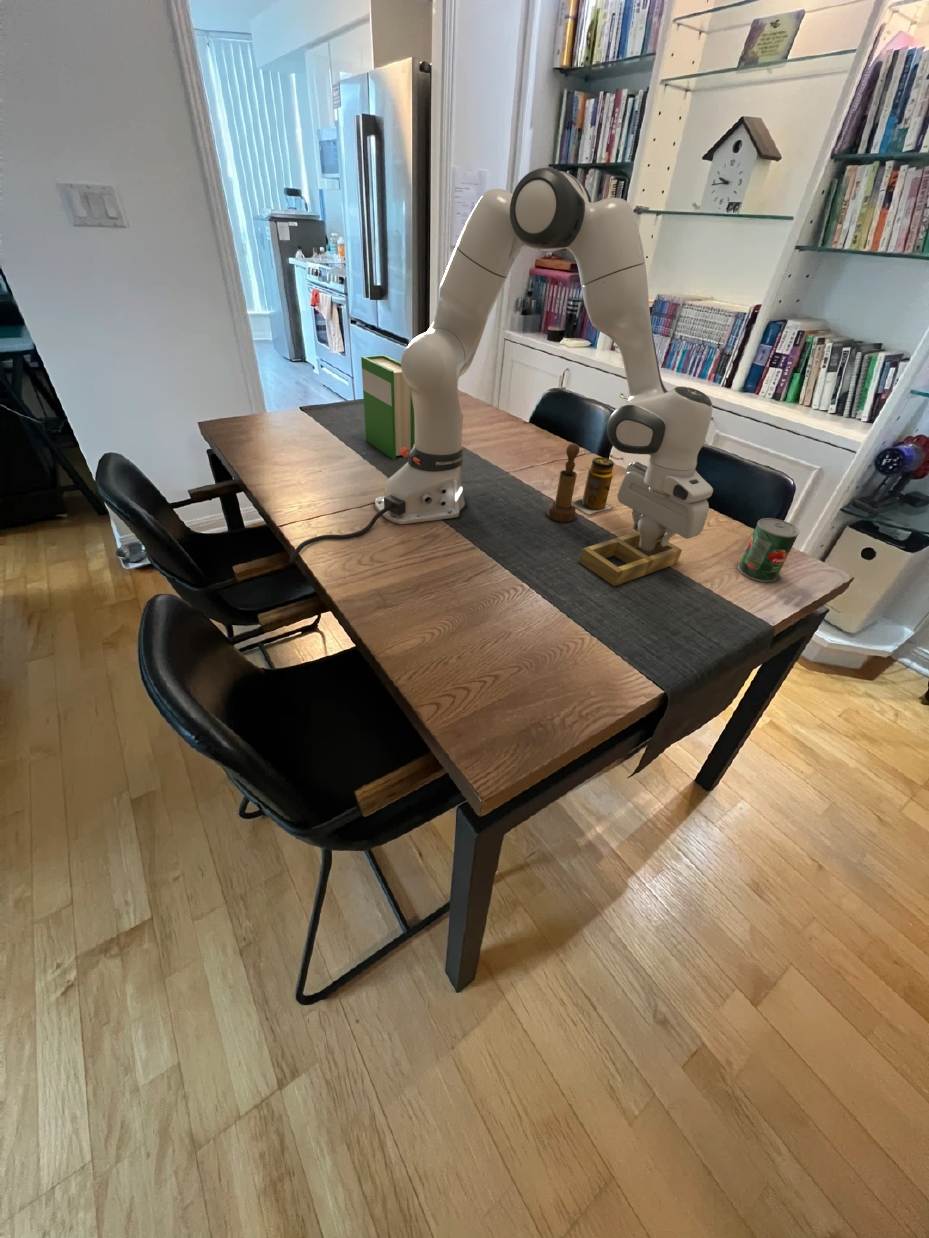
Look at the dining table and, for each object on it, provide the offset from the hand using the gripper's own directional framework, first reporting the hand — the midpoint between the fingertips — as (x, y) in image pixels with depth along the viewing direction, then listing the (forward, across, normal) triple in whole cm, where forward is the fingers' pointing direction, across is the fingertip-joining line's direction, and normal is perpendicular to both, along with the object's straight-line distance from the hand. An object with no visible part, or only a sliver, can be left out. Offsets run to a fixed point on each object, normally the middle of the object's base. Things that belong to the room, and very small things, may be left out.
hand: (649, 537), depth 113 cm
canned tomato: (+5, +16, +18) cm, 25 cm away
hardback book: (+5, -83, -22) cm, 86 cm away
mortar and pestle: (+5, -24, -4) cm, 25 cm away
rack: (+5, 0, -4) cm, 7 cm away
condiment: (+5, -25, +8) cm, 27 cm away
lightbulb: (+5, 0, 0) cm, 5 cm away
